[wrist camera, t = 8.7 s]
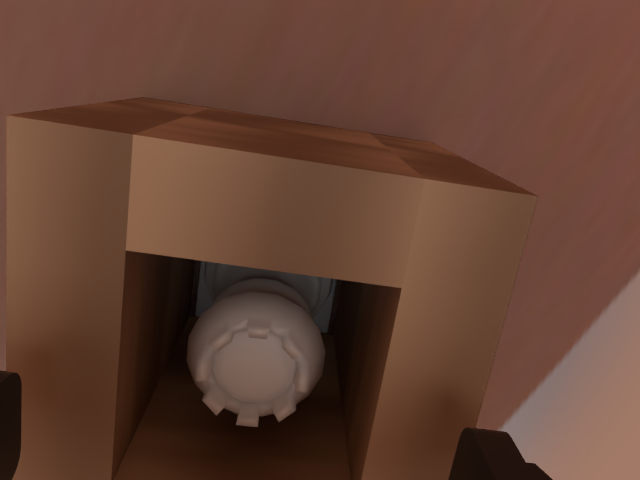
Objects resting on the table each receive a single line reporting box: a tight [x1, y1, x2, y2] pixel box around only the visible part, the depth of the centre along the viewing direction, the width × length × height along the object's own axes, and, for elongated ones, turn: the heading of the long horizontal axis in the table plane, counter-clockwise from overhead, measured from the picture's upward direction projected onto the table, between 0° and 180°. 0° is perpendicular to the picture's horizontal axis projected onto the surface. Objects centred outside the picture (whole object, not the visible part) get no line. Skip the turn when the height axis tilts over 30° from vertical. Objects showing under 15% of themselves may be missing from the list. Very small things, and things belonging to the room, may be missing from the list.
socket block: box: [6, 97, 538, 480], centre depth 16 cm, size 10×10×9 cm
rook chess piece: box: [186, 261, 332, 427], centre depth 16 cm, size 4×4×8 cm
